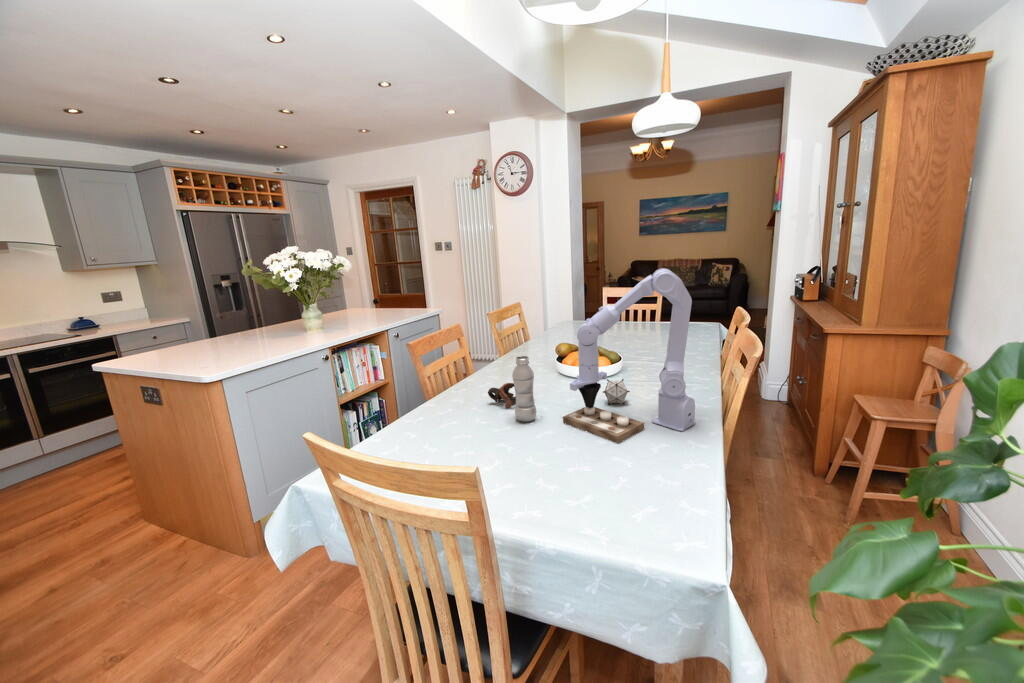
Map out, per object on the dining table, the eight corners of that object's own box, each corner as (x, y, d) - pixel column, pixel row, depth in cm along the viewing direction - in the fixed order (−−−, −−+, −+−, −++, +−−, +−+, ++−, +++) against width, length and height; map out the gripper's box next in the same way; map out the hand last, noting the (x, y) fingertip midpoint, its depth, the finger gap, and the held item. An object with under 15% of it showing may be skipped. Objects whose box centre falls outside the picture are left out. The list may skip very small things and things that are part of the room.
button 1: (597, 414, 132) (597, 407, 132) (590, 417, 130) (590, 410, 130) (589, 411, 135) (588, 405, 134) (582, 414, 133) (582, 408, 132)
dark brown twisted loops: (520, 398, 155) (525, 382, 150) (519, 418, 148) (524, 402, 143) (487, 392, 154) (490, 376, 149) (484, 413, 147) (488, 396, 142)
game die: (619, 416, 143) (621, 399, 135) (596, 403, 147) (597, 386, 139) (633, 396, 147) (635, 379, 139) (610, 384, 151) (612, 367, 143)
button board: (644, 429, 123) (644, 421, 123) (618, 443, 116) (618, 435, 115) (589, 411, 138) (589, 404, 138) (563, 422, 131) (562, 415, 131)
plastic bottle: (535, 424, 131) (531, 360, 127) (513, 424, 133) (509, 360, 128) (538, 416, 137) (535, 354, 133) (517, 415, 139) (513, 354, 134)
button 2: (630, 425, 123) (630, 418, 123) (624, 428, 121) (624, 422, 121) (621, 422, 125) (621, 415, 125) (614, 425, 123) (614, 418, 123)
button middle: (613, 419, 128) (613, 413, 127) (606, 422, 126) (606, 416, 125) (604, 416, 130) (604, 410, 130) (597, 419, 128) (597, 413, 128)
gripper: (593, 356, 136) (594, 397, 139) (561, 366, 127) (563, 410, 130) (612, 359, 131) (612, 402, 134) (579, 371, 122) (581, 416, 125)
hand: (589, 406), depth 132 cm, fingers closed
